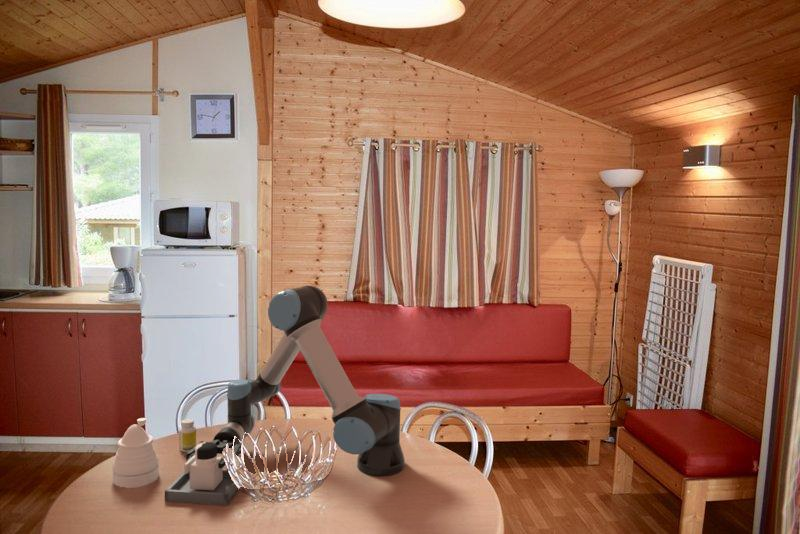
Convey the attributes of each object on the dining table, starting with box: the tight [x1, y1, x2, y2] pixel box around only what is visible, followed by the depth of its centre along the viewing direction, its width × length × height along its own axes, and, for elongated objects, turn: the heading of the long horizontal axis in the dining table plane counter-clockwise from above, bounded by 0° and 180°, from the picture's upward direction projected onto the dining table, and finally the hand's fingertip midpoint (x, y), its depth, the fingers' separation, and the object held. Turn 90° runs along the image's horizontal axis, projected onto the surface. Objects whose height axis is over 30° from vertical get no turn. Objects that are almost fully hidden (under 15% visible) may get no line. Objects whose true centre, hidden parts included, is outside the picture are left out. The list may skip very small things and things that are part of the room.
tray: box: [164, 469, 239, 506], centre depth 182 cm, size 18×15×3 cm
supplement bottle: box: [178, 418, 197, 453], centre depth 211 cm, size 5×5×10 cm
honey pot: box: [111, 417, 160, 489], centre depth 188 cm, size 13×13×18 cm
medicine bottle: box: [190, 441, 224, 490], centre depth 181 cm, size 7×7×12 cm
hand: (199, 469), depth 176 cm, fingers closed on medicine bottle, 7 cm apart
